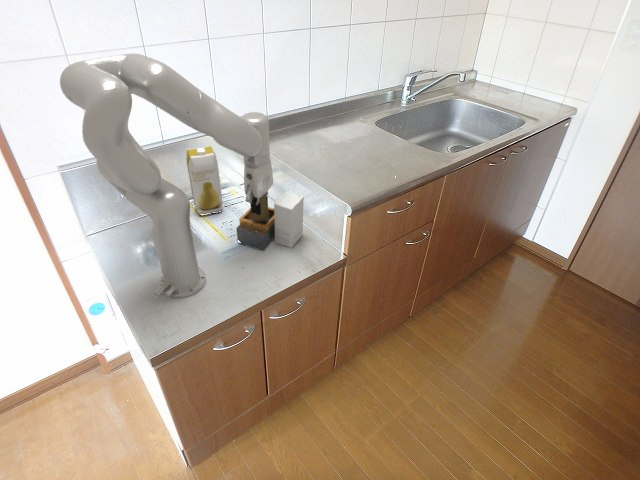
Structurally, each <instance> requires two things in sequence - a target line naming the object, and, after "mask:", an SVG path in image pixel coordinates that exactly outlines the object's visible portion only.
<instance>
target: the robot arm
mask: <svg viewBox="0 0 640 480" xmlns="http://www.w3.org/2000/svg"><path fill="white" fill-rule="evenodd" d="M59 85H60V89H61V91H62V94H63V95H64V96H65V98H66V99H67V100H69V102H71V103H73V105H75V106H77V107H79V108H81V109H82V110H84V115H83V120H82V125H81V126H82V130H81V131H82V132H81V133H82V140H83V144H84V145H85V146H86V149H87V150H88V151H89V152H90V153H91V155H92V156H93V157H94V158H95V159H96V166H97V169H98V171H99V173H100V174H101V176H102V177H103V178H104V179H105V180H106V181H107V182H108V183H109V184H111V186H113V188H114V189H115V190H117V192H118V193H120V194H121V195H122V196H123V197H124V198H126V200H127V201H129V203H131V204H132V205H133V206H135V208H136V207H137V209H139V210H141V211H142V212H143V213H145V214H146V215H147V216H149V218H150V219H151V221H152V225H153V226H152V230H151V232H152V234H151V235H152V239H153V242H154V247H155V249H156V254H157V258H158V262H159V264H160V269H161V272H162V275H161V277H160V279H159V284H158V285H159V287H158V288H157V289H156V290H155V291H154V292H153V293H152V294H153V297H155V298H157V299H158V298H159V299H160V297H161V296H162V295H163V294H164V296H165V297H166V298H167V297H168V298H169V297H171V298H175V299H176V298H179V299H180V298H187V297H190V296H193V295H194V294H196V293H198V292H199V291H200V290H202V289H203V288H204V286H205V284H206V281H207V277H206V273H205V271H204V269H202V268H201V267H200V266H199V265H198V264H199V263H198V260H197V254H196V248H195V242H194V238H193V233H192V227H191V203H190V199H189V197H188V195H187V194H186V193H185V192H184V191H183V189H181V188H179V187H178V186H177V185H175V184H174V183H172V182H170V181H169V180H166V179H164V178H163V177H162V174H161V171H160V168H159V166H158V165H157V163H156V162H155V160H154V159H152V157H151V156H150V155H149V154H148V153H147V152H146V150H144V148H143V147H142V146H141V145H140V144H139V143H138V142H137V140H136V139H135V137H133V135H132V134H131V132H130V130H129V118H130V115H131V112H132V107H133V97H132V95H134V96H137V97H139V98H141V99H144V100H145V101H147V102H149V103H150V104H152V105H153V106H155V107H157V108H158V109H160V110H162V111H164V112H165V113H167V114H168V115H169V116H171V117H173V118H174V119H175V120H178V121H179V122H181V123H182V124H184V125H185V126H187V127H189V128H191V129H193V130H195V131H197V132H199V133H201V134H204V135H206V136H209V137H211V138H213V140H214V142H215V143H216V144H218V145H219V146H221V147H222V148H226V149H227V150H230V151H233V152H234V153H236V154H238V155H241V156H242V157H243V163H244V169H243V187H244V194H245V202H247V203H249V204H250V208H251V213H253V214H254V213H256V214H257V215H260V214H261V206H260V203H259V198H260V197H262V196H263V195H264V194H265V193H266V192H267V194H266V200H267V205H268V206H269V201H268V200H269V198H268V197H269V196H268V195H269V190H270V189H271V187H273V185H274V178H273V177H274V174H273V165H272V161H271V160H272V159H271V156H270V155H271V154H270V153H271V151H270V125H269V118H268V117H267V114H266V115H265V114H264V113H262V112H255V111H254V112H253V111H251V112H247V113H245V114H244V115H242V116H241V115H240V116H239V115H238V114H236V113H235V112H233V111H232V110H231V109H228V108H227V107H225V106H224V105H223V104H222V103H220V102H218V101H217V100H215V98H212V97H211V96H210V95H208V94H207V93H205V92H204V91H202V90H201V89H200V88H198V87H197V86H195V85H194V84H192V82H190V81H189V80H187V78H185V77H183V76H182V75H181V74H180V73H179V72H177V71H176V70H175V69H173V68H172V67H171V66H169V65H167V64H166V63H164V62H162V61H160V60H157V59H155V58H151V57H148V56H146V55H144V54H140V53H125V54H118V55H111V56H105V57H99V58H93V59H86V60H80V61H76V62H74V63H71V64H69V65H68V66H67V67H65V68H64V69H63V71H62V72H61V74H60V78H59ZM253 197H256V200H255V199H253Z"/></svg>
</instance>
